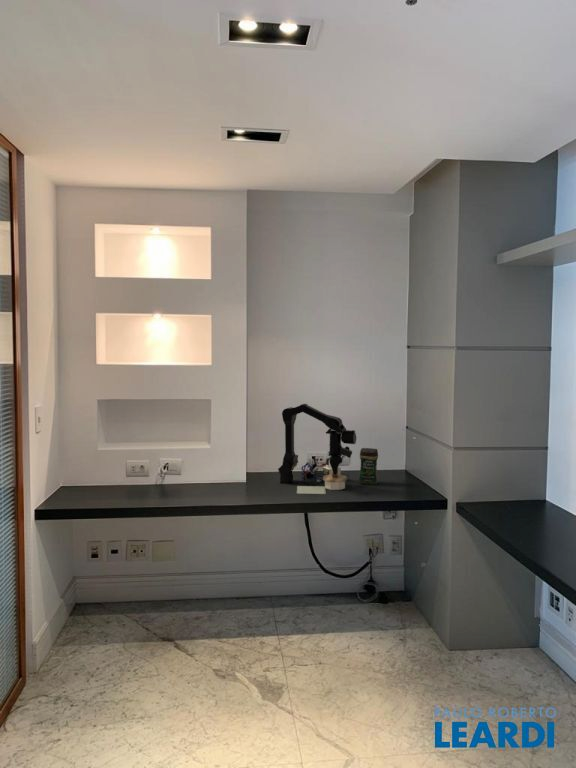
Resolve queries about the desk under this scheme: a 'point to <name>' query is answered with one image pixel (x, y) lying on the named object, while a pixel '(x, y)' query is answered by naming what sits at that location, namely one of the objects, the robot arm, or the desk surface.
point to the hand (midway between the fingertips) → (334, 473)
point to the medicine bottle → (329, 469)
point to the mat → (311, 490)
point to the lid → (334, 477)
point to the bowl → (335, 485)
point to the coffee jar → (368, 466)
